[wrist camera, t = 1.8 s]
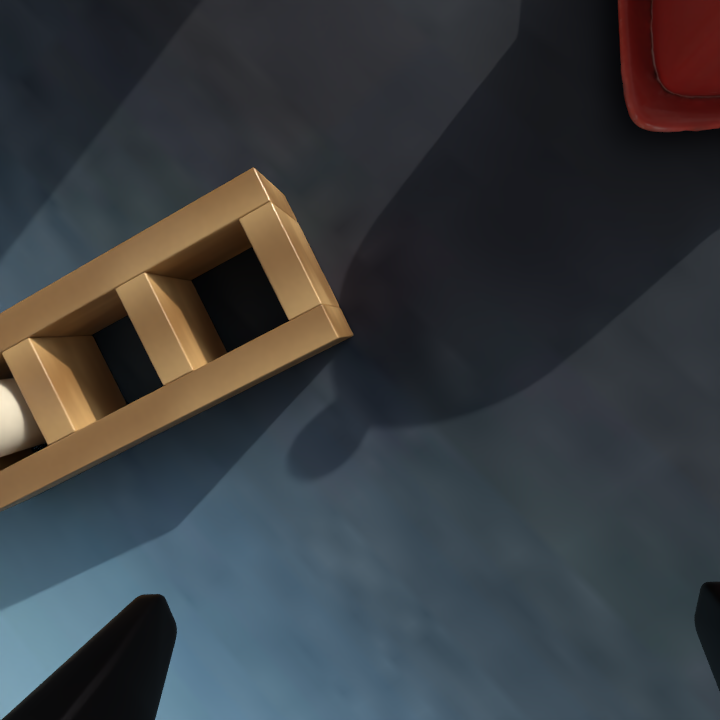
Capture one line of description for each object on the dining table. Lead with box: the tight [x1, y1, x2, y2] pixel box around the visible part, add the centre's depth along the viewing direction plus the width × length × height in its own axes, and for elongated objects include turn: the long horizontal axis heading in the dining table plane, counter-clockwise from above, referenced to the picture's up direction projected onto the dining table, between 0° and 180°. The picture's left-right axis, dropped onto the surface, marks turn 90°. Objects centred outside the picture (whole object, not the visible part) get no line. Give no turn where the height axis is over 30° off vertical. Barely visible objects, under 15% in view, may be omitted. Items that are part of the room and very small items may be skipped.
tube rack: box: [0, 168, 353, 512], centre depth 22 cm, size 7×18×4 cm, turn 117°
